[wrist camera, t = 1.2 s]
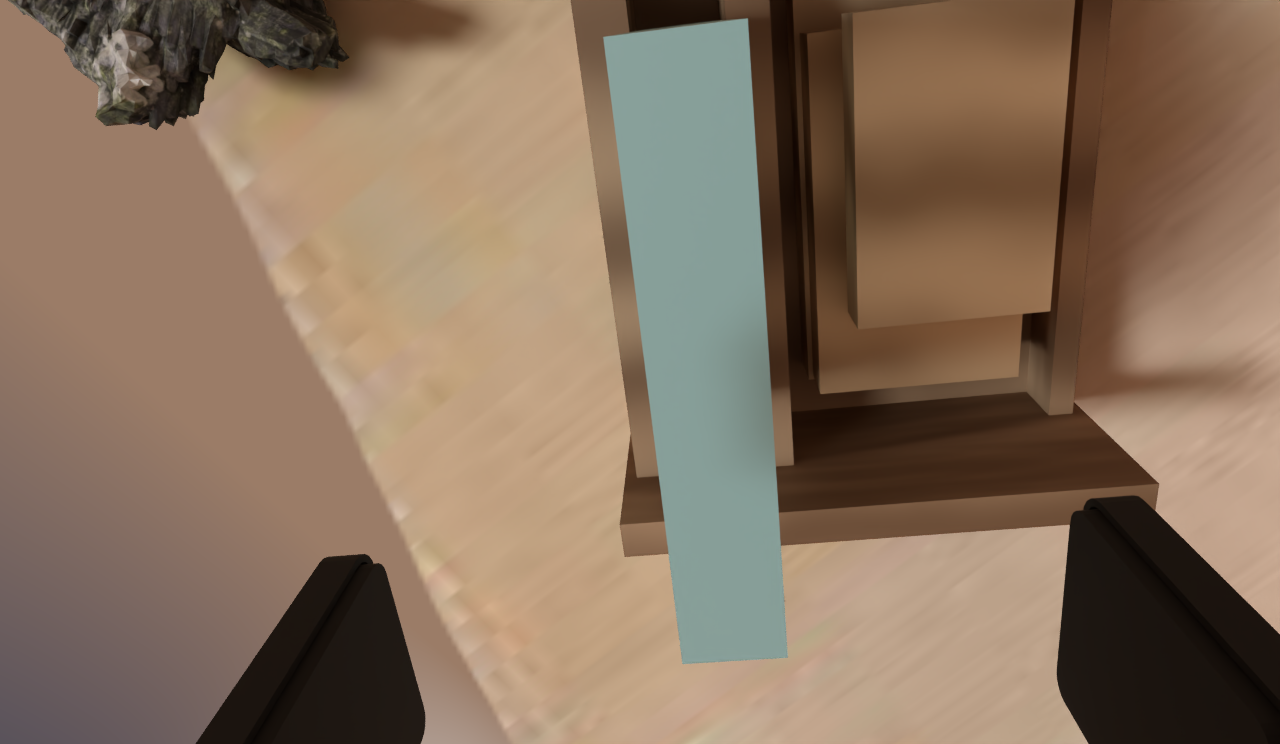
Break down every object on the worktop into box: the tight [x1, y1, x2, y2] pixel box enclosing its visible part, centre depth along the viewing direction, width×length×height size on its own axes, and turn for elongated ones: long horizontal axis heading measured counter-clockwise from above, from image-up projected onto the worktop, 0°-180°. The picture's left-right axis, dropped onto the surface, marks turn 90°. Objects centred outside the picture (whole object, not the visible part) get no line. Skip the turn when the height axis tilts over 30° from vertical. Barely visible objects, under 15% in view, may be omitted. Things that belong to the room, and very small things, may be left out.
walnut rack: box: [571, 0, 1159, 557], centre depth 31 cm, size 24×20×10 cm
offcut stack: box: [786, 0, 1075, 394], centre depth 32 cm, size 16×9×6 cm, turn 7°
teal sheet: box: [603, 18, 788, 664], centre depth 26 cm, size 14×2×20 cm, turn 7°
